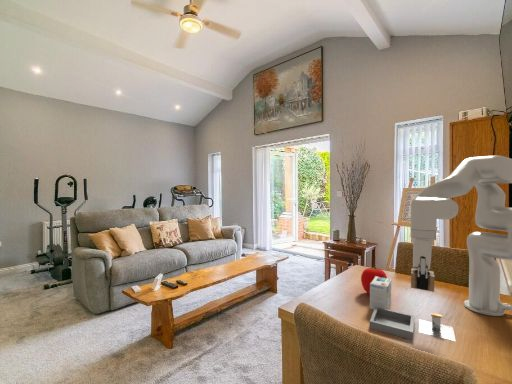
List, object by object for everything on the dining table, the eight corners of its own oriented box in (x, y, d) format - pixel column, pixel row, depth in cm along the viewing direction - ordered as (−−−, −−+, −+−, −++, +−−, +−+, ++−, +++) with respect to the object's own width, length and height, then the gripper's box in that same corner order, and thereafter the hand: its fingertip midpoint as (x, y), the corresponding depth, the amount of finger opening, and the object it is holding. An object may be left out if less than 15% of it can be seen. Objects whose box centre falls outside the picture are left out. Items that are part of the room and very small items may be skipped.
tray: (414, 324, 95) (414, 315, 95) (412, 343, 84) (413, 332, 84) (375, 315, 102) (375, 306, 102) (369, 330, 91) (369, 321, 91)
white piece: (452, 329, 92) (453, 312, 91) (455, 344, 83) (456, 325, 83) (419, 321, 97) (419, 305, 97) (418, 334, 89) (419, 316, 88)
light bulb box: (374, 299, 116) (375, 275, 116) (391, 303, 112) (391, 278, 112) (369, 308, 108) (369, 282, 107) (387, 313, 104) (387, 286, 103)
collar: (411, 281, 95) (411, 268, 95) (433, 285, 91) (433, 271, 91) (410, 287, 89) (411, 273, 89) (434, 291, 86) (434, 276, 86)
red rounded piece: (362, 298, 117) (362, 270, 117) (359, 289, 128) (359, 263, 127) (390, 301, 114) (390, 272, 114) (384, 291, 125) (385, 265, 124)
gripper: (410, 229, 99) (409, 276, 100) (409, 237, 85) (408, 291, 85) (434, 231, 95) (433, 280, 96) (438, 239, 81) (436, 297, 81)
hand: (421, 285), depth 90 cm, fingers closed on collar, 6 cm apart
